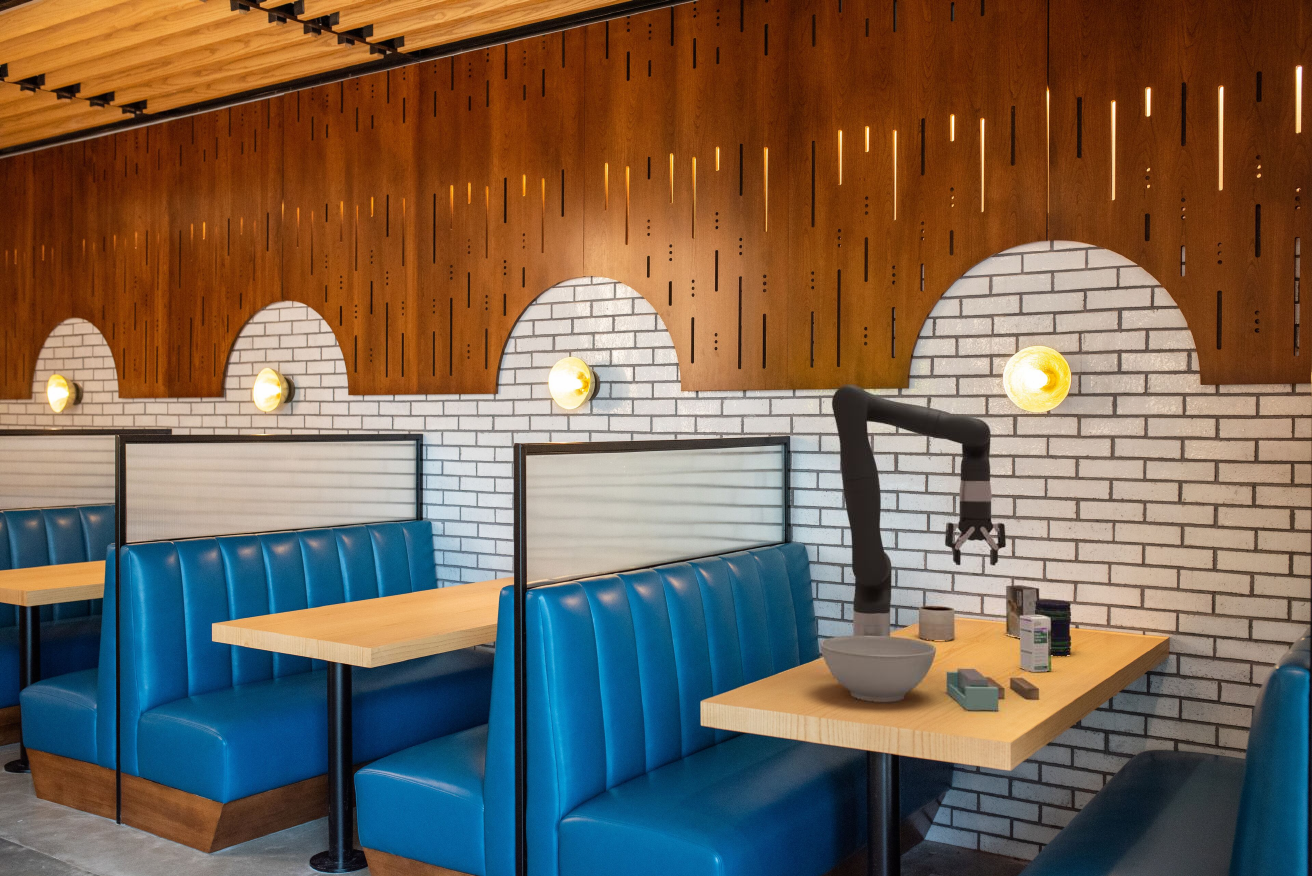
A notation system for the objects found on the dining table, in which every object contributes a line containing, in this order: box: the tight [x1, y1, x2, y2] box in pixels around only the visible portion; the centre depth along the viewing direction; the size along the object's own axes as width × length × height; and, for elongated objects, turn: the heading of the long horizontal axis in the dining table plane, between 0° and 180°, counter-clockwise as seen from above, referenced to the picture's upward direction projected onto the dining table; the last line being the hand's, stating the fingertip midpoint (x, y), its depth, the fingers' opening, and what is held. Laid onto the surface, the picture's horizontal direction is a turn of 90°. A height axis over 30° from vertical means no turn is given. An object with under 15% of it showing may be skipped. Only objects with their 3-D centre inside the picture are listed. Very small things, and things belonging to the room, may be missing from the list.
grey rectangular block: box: [956, 668, 988, 696], centre depth 238 cm, size 4×12×5 cm, turn 177°
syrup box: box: [1019, 615, 1052, 673], centre depth 275 cm, size 6×6×14 cm
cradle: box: [946, 671, 999, 712], centre depth 239 cm, size 7×18×5 cm, turn 178°
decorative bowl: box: [819, 635, 937, 703], centre depth 244 cm, size 27×27×12 cm
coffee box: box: [1005, 584, 1040, 637], centre depth 326 cm, size 9×6×16 cm
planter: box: [918, 605, 956, 641], centre depth 323 cm, size 11×11×10 cm
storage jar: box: [1035, 599, 1072, 656], centre depth 299 cm, size 10×10×15 cm
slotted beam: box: [984, 676, 1040, 700], centre depth 248 cm, size 11×12×2 cm
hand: (975, 565), depth 254 cm, fingers open, 8 cm apart
